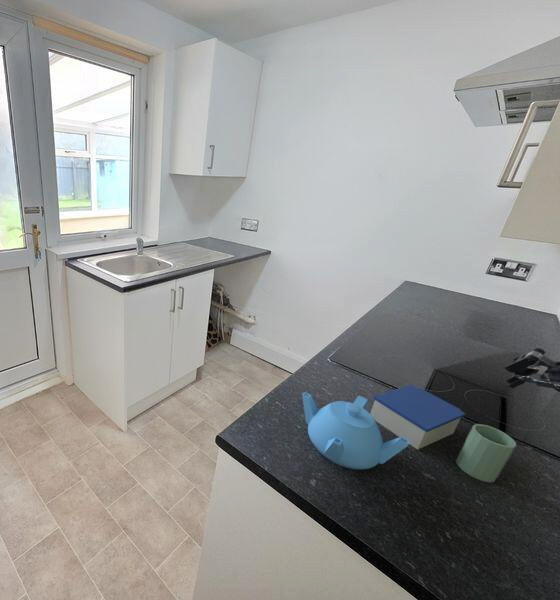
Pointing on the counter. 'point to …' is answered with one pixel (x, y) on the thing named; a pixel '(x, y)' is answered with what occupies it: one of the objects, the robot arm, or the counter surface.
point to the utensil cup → (485, 452)
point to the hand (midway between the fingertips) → (543, 401)
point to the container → (416, 415)
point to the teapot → (348, 434)
